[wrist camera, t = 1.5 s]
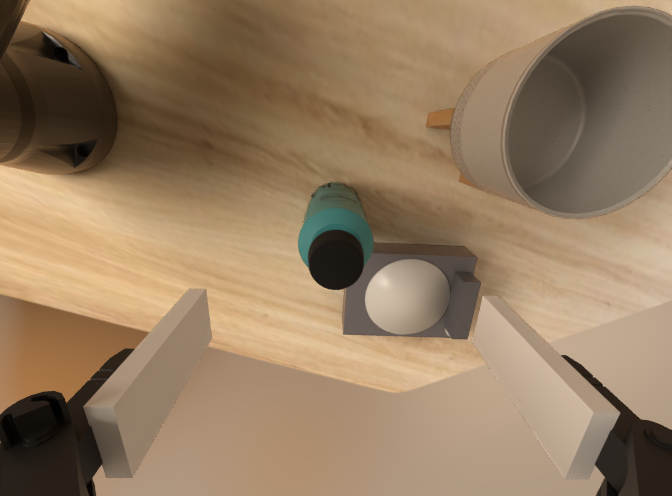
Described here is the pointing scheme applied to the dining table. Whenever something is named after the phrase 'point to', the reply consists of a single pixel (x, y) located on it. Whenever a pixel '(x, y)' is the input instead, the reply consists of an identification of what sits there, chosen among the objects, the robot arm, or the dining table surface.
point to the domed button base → (413, 292)
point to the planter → (571, 116)
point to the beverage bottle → (335, 237)
